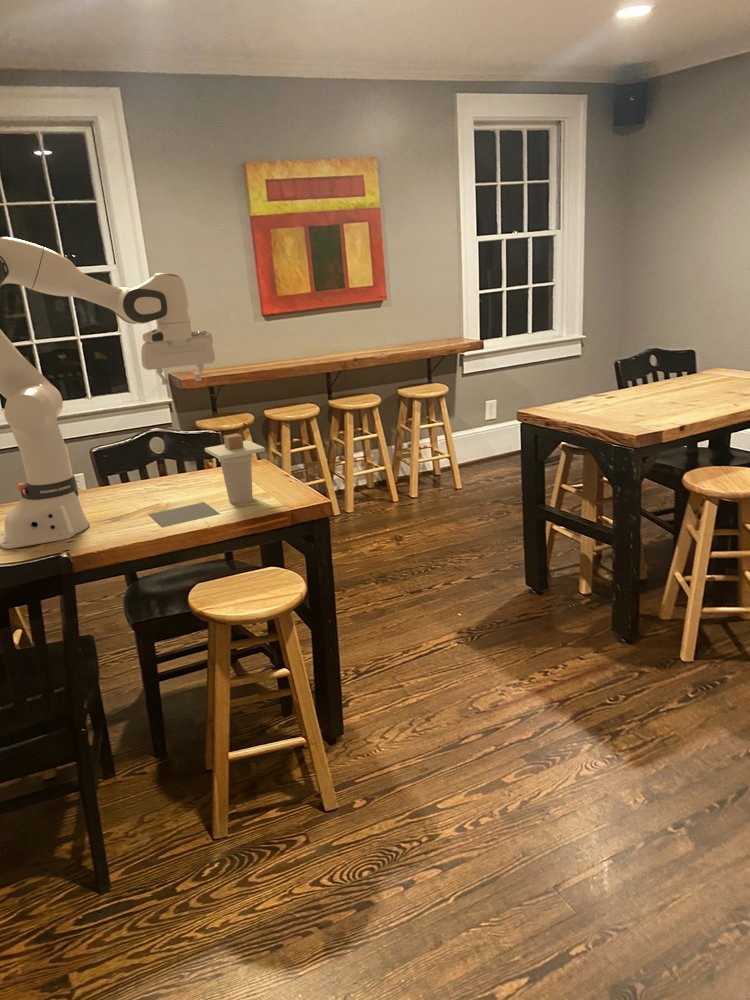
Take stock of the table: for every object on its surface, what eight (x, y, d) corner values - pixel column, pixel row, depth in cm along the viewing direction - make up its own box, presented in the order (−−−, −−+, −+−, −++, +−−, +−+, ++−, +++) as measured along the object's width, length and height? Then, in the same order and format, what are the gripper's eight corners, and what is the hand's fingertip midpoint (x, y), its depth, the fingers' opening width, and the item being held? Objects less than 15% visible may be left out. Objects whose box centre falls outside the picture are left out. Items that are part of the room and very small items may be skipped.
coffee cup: (218, 507, 204) (211, 455, 200) (232, 496, 213) (226, 447, 208) (250, 507, 202) (243, 455, 197) (263, 497, 210) (257, 447, 206)
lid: (220, 459, 194) (217, 443, 193) (205, 451, 205) (202, 435, 204) (265, 451, 200) (263, 435, 199) (248, 443, 211) (246, 428, 210)
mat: (162, 529, 189) (161, 527, 189) (148, 516, 200) (148, 514, 200) (220, 515, 196) (220, 513, 196) (204, 504, 208) (204, 502, 208)
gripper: (208, 329, 211) (213, 377, 215) (136, 335, 201) (143, 385, 205) (214, 330, 205) (220, 379, 210) (141, 336, 196) (149, 387, 200)
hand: (182, 382), depth 207 cm, fingers open, 8 cm apart
